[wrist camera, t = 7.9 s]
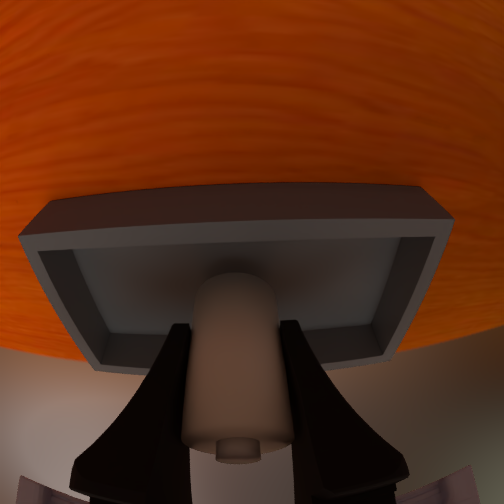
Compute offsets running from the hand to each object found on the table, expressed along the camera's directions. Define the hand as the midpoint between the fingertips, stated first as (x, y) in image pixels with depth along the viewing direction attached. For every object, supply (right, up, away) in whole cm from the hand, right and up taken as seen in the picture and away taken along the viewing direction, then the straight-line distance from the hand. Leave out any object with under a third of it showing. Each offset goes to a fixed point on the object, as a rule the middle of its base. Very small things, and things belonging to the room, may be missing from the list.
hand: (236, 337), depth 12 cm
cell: (0, +1, +2) cm, 2 cm away
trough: (0, +2, +3) cm, 4 cm away
